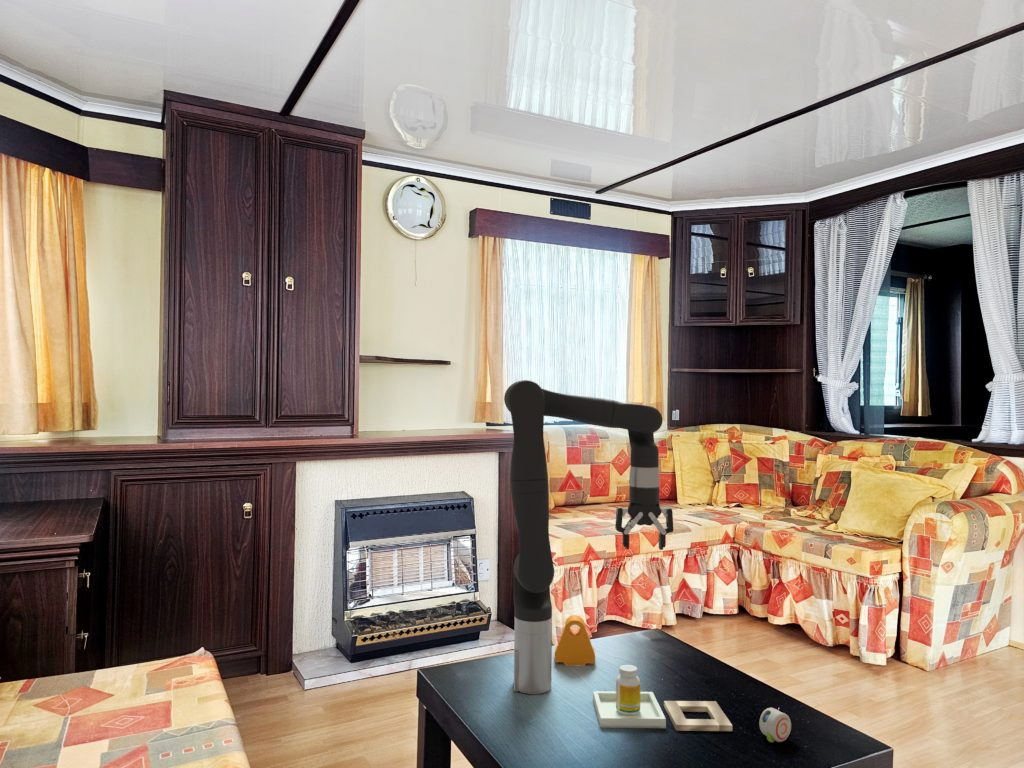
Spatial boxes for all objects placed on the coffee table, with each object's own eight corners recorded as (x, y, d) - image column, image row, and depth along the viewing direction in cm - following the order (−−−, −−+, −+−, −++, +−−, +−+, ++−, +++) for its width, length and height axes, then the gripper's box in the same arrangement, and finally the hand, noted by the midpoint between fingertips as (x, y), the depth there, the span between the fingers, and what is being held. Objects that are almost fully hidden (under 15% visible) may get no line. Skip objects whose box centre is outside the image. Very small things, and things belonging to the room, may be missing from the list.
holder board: (676, 730, 148) (676, 724, 148) (663, 706, 160) (663, 700, 160) (732, 731, 148) (732, 725, 148) (715, 706, 160) (715, 701, 160)
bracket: (594, 656, 191) (594, 612, 191) (595, 666, 184) (595, 621, 184) (555, 655, 192) (555, 611, 192) (554, 664, 184) (554, 619, 185)
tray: (600, 727, 149) (600, 718, 149) (593, 699, 163) (593, 691, 163) (665, 728, 149) (665, 718, 149) (652, 700, 163) (652, 691, 163)
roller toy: (755, 737, 145) (755, 709, 145) (776, 730, 148) (776, 703, 149) (772, 746, 141) (772, 717, 142) (793, 739, 144) (793, 711, 145)
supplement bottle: (611, 708, 157) (611, 665, 157) (631, 704, 159) (631, 661, 160) (625, 717, 152) (625, 673, 153) (645, 713, 154) (645, 670, 155)
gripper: (618, 486, 171) (618, 551, 171) (676, 486, 171) (675, 552, 171) (614, 482, 179) (613, 545, 178) (669, 483, 179) (668, 546, 178)
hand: (644, 549), depth 175 cm, fingers open, 8 cm apart
